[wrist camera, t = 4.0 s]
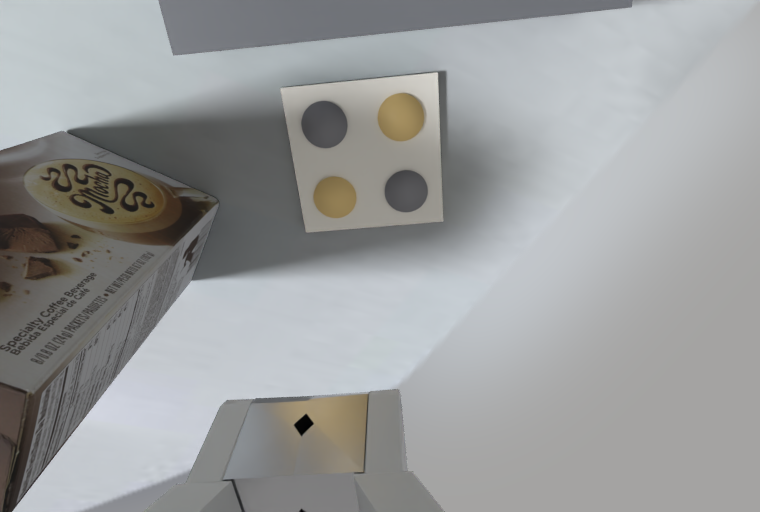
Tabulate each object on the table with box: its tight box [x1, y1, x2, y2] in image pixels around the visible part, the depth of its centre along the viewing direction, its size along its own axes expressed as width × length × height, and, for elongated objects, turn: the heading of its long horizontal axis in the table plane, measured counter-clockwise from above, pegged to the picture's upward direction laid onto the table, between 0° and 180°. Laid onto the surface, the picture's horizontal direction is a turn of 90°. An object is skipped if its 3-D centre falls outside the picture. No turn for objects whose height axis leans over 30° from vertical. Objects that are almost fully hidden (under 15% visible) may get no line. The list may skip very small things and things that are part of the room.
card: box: [280, 72, 443, 233], centre depth 25 cm, size 8×8×1 cm
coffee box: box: [0, 131, 219, 512], centre depth 20 cm, size 9×6×16 cm
